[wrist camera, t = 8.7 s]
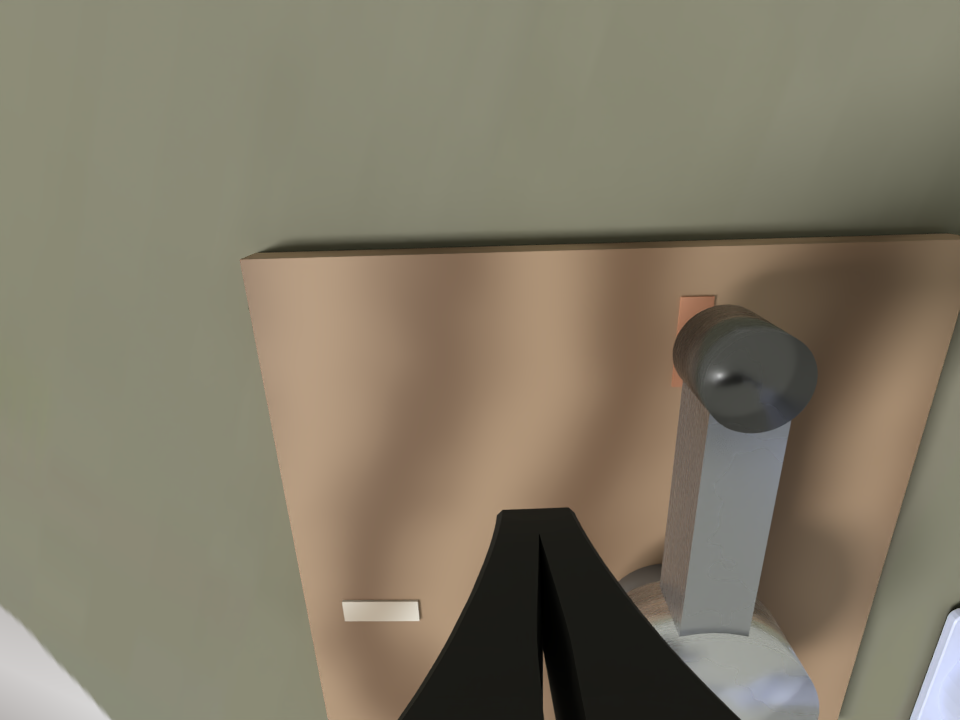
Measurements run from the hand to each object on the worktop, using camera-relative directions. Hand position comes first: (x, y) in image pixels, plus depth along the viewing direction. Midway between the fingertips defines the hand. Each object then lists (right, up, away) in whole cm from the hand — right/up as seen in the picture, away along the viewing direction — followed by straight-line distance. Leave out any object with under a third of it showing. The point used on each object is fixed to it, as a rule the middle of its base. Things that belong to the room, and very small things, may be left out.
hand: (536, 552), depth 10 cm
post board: (+3, -3, +11) cm, 12 cm away
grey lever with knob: (+6, -3, +7) cm, 10 cm away
